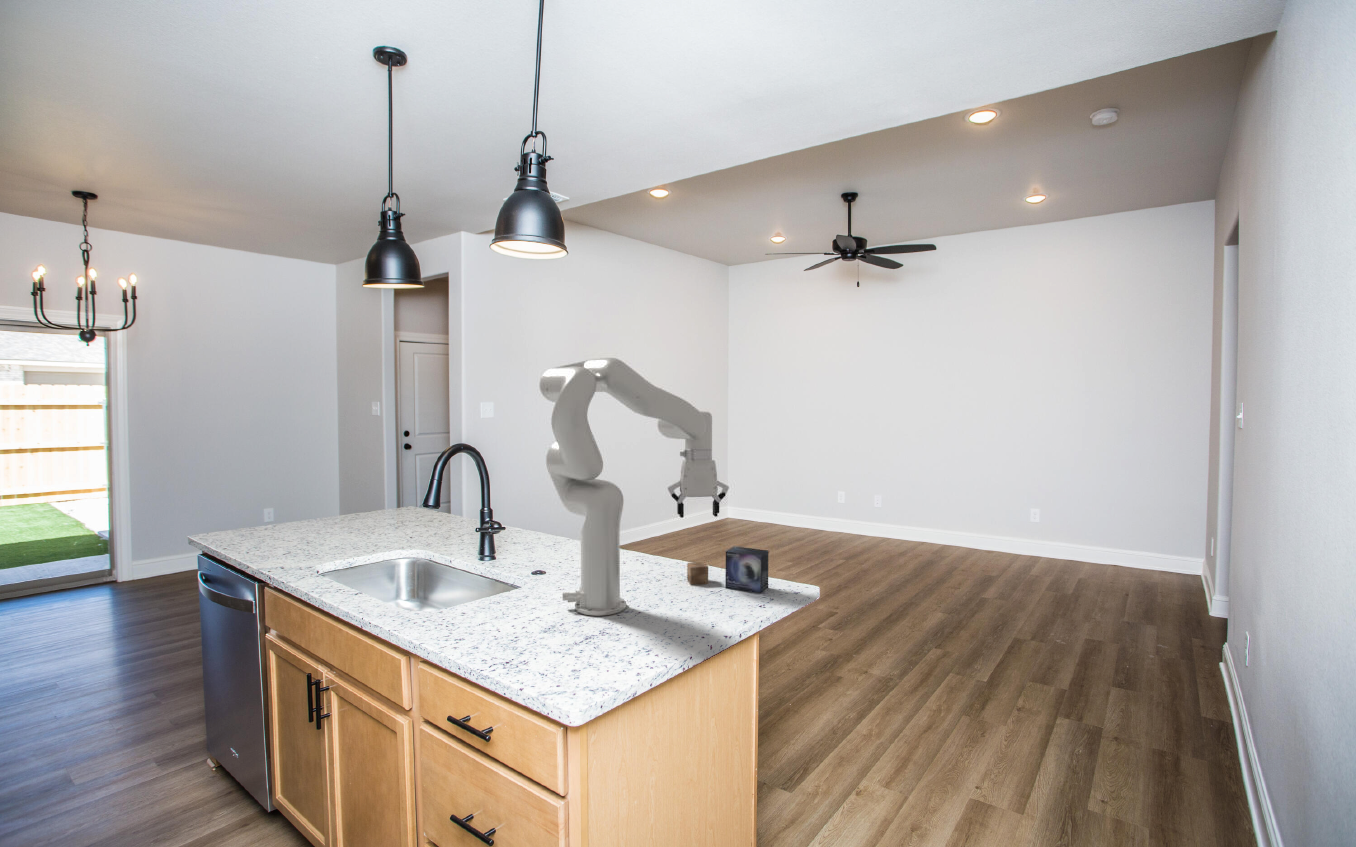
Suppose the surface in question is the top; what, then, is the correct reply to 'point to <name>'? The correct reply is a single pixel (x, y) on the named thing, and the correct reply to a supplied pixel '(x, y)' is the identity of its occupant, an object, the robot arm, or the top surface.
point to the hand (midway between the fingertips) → (698, 516)
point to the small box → (747, 569)
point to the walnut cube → (697, 573)
